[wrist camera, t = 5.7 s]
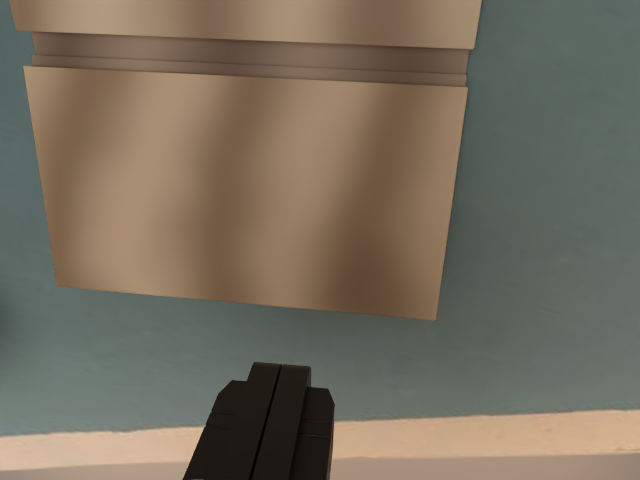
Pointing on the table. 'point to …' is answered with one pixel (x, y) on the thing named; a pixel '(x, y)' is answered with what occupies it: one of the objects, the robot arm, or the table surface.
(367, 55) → the floorboards
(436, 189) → the plank
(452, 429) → the table surface
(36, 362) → the table surface
